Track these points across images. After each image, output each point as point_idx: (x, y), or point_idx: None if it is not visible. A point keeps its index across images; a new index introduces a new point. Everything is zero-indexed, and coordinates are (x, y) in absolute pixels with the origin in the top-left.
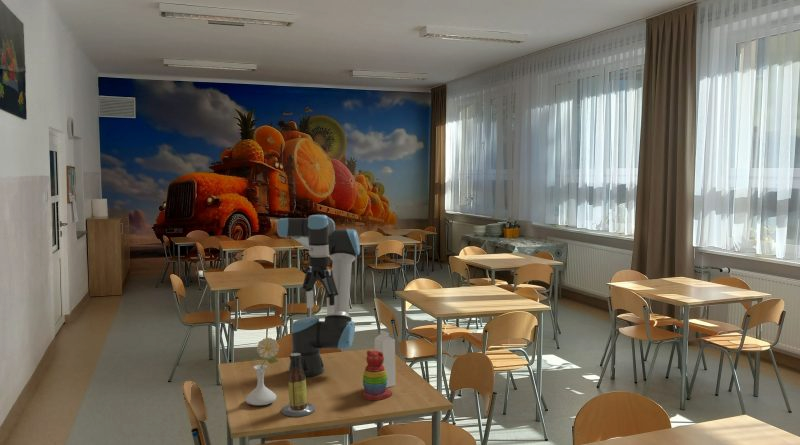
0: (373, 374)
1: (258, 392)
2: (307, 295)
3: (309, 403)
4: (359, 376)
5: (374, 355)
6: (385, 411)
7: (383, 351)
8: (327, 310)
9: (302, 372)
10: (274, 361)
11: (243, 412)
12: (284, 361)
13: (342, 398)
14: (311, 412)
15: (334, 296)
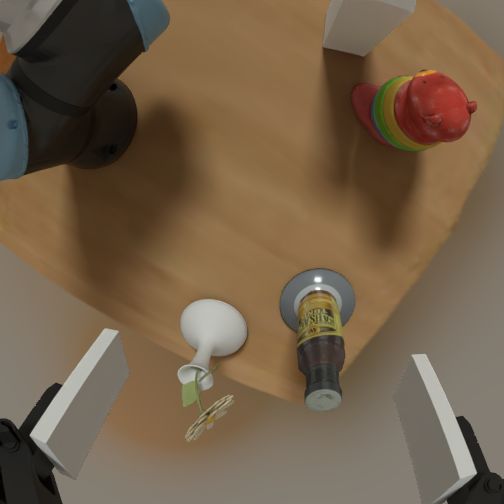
0: (439, 143)
1: (220, 351)
2: (85, 452)
3: (314, 271)
4: (229, 30)
5: (464, 131)
6: (468, 180)
7: (400, 23)
8: (404, 416)
9: (343, 357)
10: (215, 368)
11: (238, 366)
12: None
13: (339, 181)
14: (354, 296)
15: (494, 476)
